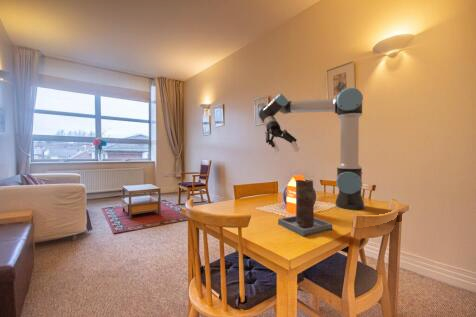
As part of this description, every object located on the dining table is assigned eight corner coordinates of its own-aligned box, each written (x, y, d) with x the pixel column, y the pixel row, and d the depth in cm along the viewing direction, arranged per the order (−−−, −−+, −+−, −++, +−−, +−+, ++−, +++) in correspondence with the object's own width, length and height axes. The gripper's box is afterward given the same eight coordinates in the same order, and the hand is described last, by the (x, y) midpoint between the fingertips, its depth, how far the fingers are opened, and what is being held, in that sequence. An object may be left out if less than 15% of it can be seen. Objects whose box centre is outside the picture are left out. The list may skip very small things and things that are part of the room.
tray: (305, 219, 109) (305, 213, 108) (332, 229, 94) (332, 224, 94) (278, 224, 101) (278, 218, 101) (303, 236, 87) (303, 230, 87)
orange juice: (308, 212, 119) (309, 175, 118) (298, 216, 113) (298, 176, 112) (296, 209, 125) (296, 173, 124) (286, 212, 120) (286, 175, 119)
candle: (292, 224, 98) (292, 179, 97) (301, 221, 103) (302, 177, 102) (307, 229, 93) (308, 181, 92) (317, 225, 97) (317, 179, 96)
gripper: (285, 130, 143) (302, 155, 130) (251, 129, 131) (266, 156, 119) (291, 121, 137) (308, 145, 125) (256, 119, 126) (271, 145, 114)
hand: (288, 150), depth 122 cm, fingers open, 13 cm apart
